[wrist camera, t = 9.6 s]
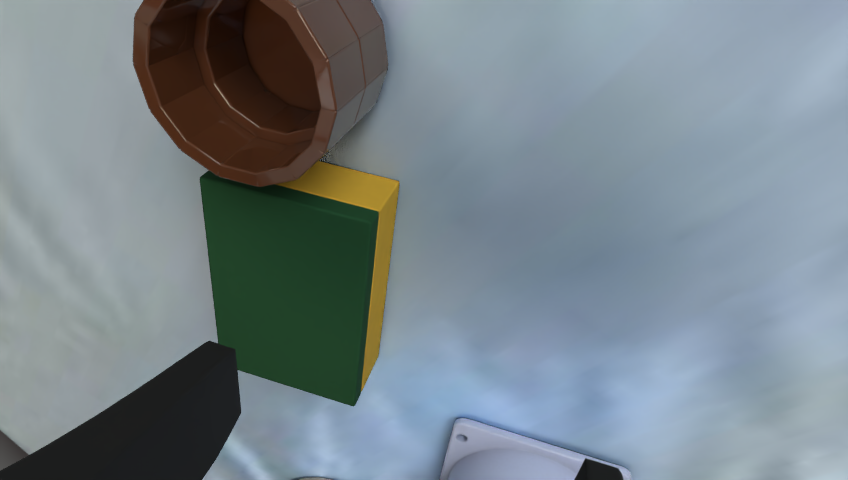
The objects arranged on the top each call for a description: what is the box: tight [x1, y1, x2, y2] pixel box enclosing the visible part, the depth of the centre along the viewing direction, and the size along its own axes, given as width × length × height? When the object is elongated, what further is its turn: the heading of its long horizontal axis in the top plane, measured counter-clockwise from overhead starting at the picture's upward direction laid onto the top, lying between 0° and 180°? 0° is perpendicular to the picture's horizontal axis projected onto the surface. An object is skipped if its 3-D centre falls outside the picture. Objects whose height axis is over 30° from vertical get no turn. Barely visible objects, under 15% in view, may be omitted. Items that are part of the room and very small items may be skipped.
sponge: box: [200, 161, 399, 406], centre depth 21 cm, size 9×6×3 cm, turn 172°
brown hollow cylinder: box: [133, 0, 388, 187], centre depth 16 cm, size 6×6×5 cm
